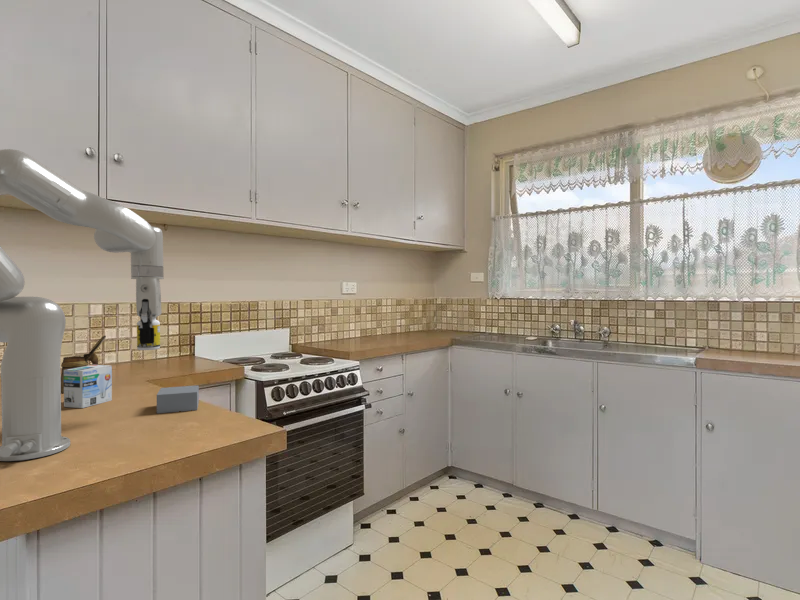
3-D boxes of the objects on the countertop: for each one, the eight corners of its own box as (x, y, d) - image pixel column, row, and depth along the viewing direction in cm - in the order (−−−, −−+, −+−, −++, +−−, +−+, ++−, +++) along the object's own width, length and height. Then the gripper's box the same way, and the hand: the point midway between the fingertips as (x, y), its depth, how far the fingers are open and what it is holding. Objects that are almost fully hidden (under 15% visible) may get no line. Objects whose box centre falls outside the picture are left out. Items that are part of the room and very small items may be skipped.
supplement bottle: (134, 350, 119) (133, 312, 118) (140, 348, 124) (139, 311, 124) (157, 350, 120) (157, 312, 120) (162, 347, 125) (161, 311, 125)
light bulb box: (82, 408, 129) (82, 370, 129) (62, 407, 131) (62, 369, 131) (113, 400, 140) (112, 364, 140) (94, 399, 141) (94, 364, 141)
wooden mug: (107, 389, 156) (107, 336, 155) (58, 394, 148) (57, 338, 147) (105, 385, 163) (105, 334, 163) (57, 389, 155) (57, 336, 154)
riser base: (197, 410, 128) (197, 392, 128) (156, 413, 124) (156, 395, 124) (198, 402, 137) (198, 385, 137) (161, 405, 133) (160, 387, 133)
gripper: (159, 272, 115) (161, 345, 115) (166, 274, 131) (167, 338, 131) (125, 272, 112) (126, 346, 113) (136, 274, 128) (137, 339, 128)
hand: (148, 341), depth 122 cm, fingers closed on supplement bottle, 5 cm apart
